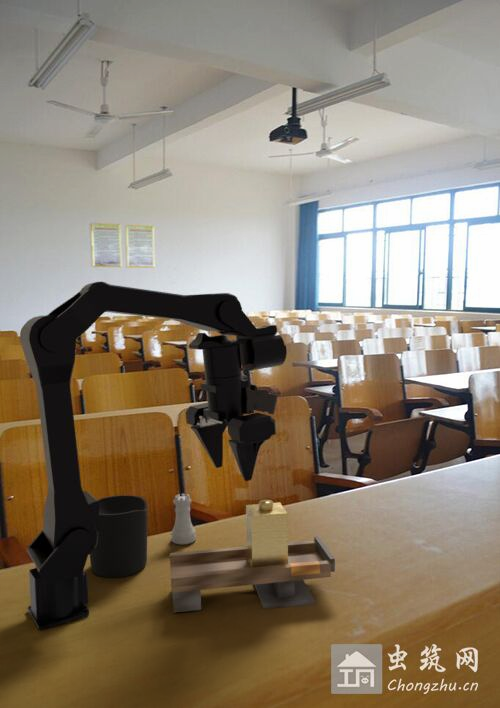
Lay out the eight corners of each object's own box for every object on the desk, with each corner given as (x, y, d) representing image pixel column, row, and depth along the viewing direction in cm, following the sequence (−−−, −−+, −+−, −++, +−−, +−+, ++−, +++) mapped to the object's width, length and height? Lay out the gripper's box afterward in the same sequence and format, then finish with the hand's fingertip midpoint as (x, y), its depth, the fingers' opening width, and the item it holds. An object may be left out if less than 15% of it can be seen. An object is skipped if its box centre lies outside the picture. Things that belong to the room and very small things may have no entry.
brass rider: (252, 573, 78) (250, 508, 77) (247, 559, 82) (245, 498, 82) (288, 569, 78) (287, 505, 78) (281, 556, 83) (279, 495, 82)
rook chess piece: (192, 546, 97) (190, 500, 97) (167, 544, 98) (165, 499, 98) (199, 536, 102) (198, 492, 101) (175, 535, 103) (174, 491, 102)
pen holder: (161, 564, 91) (159, 502, 90) (111, 586, 84) (108, 519, 83) (126, 549, 97) (123, 491, 96) (76, 568, 90) (73, 506, 89)
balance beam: (172, 618, 74) (171, 575, 74) (170, 586, 83) (169, 547, 82) (336, 601, 77) (335, 559, 77) (317, 572, 86) (317, 534, 86)
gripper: (301, 372, 84) (310, 474, 85) (238, 364, 100) (246, 451, 101) (236, 383, 78) (246, 493, 80) (180, 373, 94) (189, 465, 96)
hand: (232, 473), depth 89 cm, fingers open, 9 cm apart
